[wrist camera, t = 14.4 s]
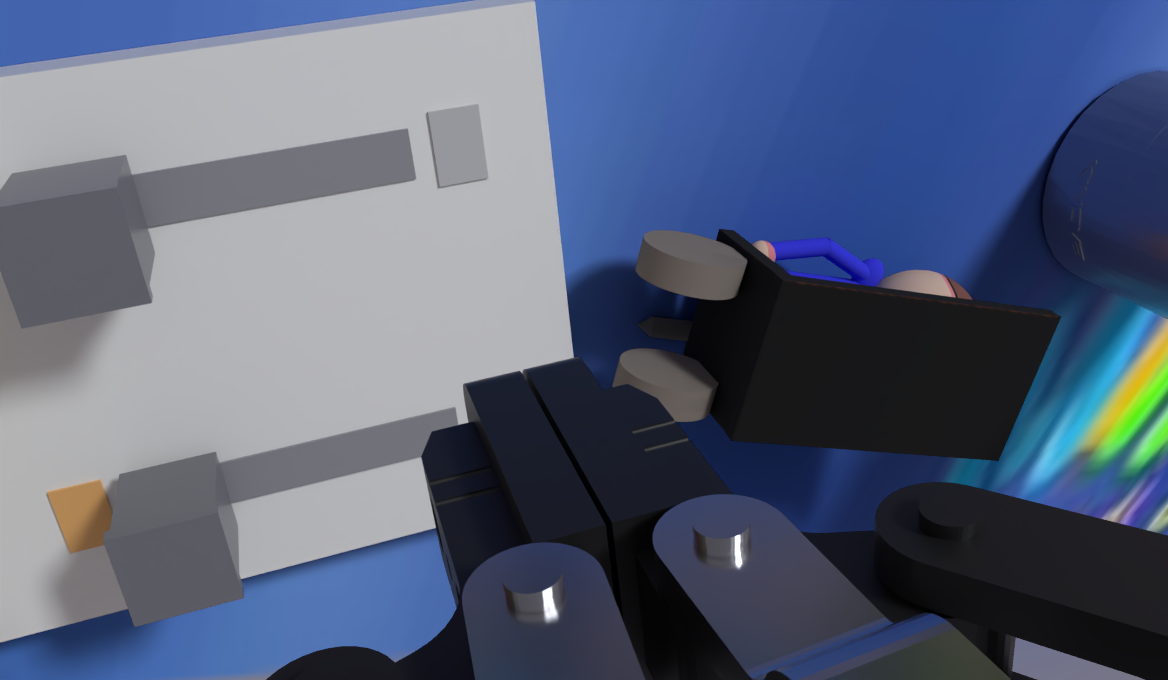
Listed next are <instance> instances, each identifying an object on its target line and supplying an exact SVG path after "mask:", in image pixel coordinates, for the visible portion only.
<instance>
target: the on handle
mask: <svg viewBox="0 0 1168 680" xmlns="http://www.w3.org/2000/svg"><path fill="white" fill-rule="evenodd" d="M103 543H104V546H105V548H106V551H107V554H108V556H109V559H110V562H111V564H112V567H113V570H114V573H115V575H116V578H117V581H118V583H119V586H120V589H121V591H122V594H123V597H124V599H125V602H126V605H127V608H128V610H129V613H130V616H131V618H132V621H133V624H134V626H135V627H137V626H141V625H145V624H148V623H152V622H156V621H159V620H163V619H167V618H171V617H174V616H178V615H182V614H186V613H189V612H193V611H197V610H201V609H204V608H208V607H212V606H215V605H219V604H223V603H227V602H230V601H234V600H238V599H242V598H244V587H243V584H242V581H241V577H240V574H239V542H238V524H237V521H236V517H235V514H234V511H233V507H232V504H231V500H230V497H229V494H228V490H227V487H226V484H225V480H224V477H223V473H222V470H221V467H220V463H219V460H218V457H217V453H216V452H212V453H208V454H203V455H199V456H195V457H191V458H186V459H182V460H178V461H173V462H169V463H165V464H161V465H156V466H152V467H148V468H143V469H139V470H135V471H130V472H126V473H122V474H119V479H118V485H117V491H116V497H115V503H114V508H113V514H112V520H111V526H110V530H109V531H105V532H104V538H103Z"/></svg>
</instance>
